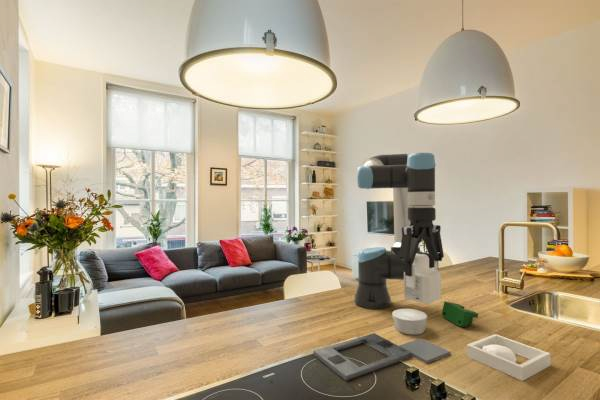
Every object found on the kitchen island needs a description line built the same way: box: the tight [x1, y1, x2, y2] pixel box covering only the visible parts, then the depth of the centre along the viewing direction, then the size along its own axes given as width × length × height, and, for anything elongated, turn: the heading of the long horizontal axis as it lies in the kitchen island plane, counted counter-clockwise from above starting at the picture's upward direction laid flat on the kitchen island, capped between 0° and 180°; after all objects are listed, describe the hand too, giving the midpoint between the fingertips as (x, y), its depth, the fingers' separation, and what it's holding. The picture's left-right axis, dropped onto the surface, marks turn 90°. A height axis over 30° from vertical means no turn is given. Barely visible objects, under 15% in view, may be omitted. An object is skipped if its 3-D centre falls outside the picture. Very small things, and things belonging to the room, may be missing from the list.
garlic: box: [482, 344, 517, 363], centre depth 85 cm, size 8×7×4 cm
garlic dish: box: [466, 333, 551, 382], centre depth 85 cm, size 14×14×3 cm
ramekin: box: [391, 308, 428, 336], centre depth 106 cm, size 11×11×5 cm
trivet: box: [398, 338, 451, 364], centre depth 91 cm, size 10×10×1 cm
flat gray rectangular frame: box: [312, 332, 413, 382], centre depth 88 cm, size 15×23×1 cm, turn 119°
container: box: [403, 252, 442, 305], centre depth 91 cm, size 8×8×13 cm
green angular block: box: [441, 301, 479, 328], centre depth 112 cm, size 12×6×9 cm, turn 4°
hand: (422, 284), depth 91 cm, fingers closed on container, 9 cm apart
